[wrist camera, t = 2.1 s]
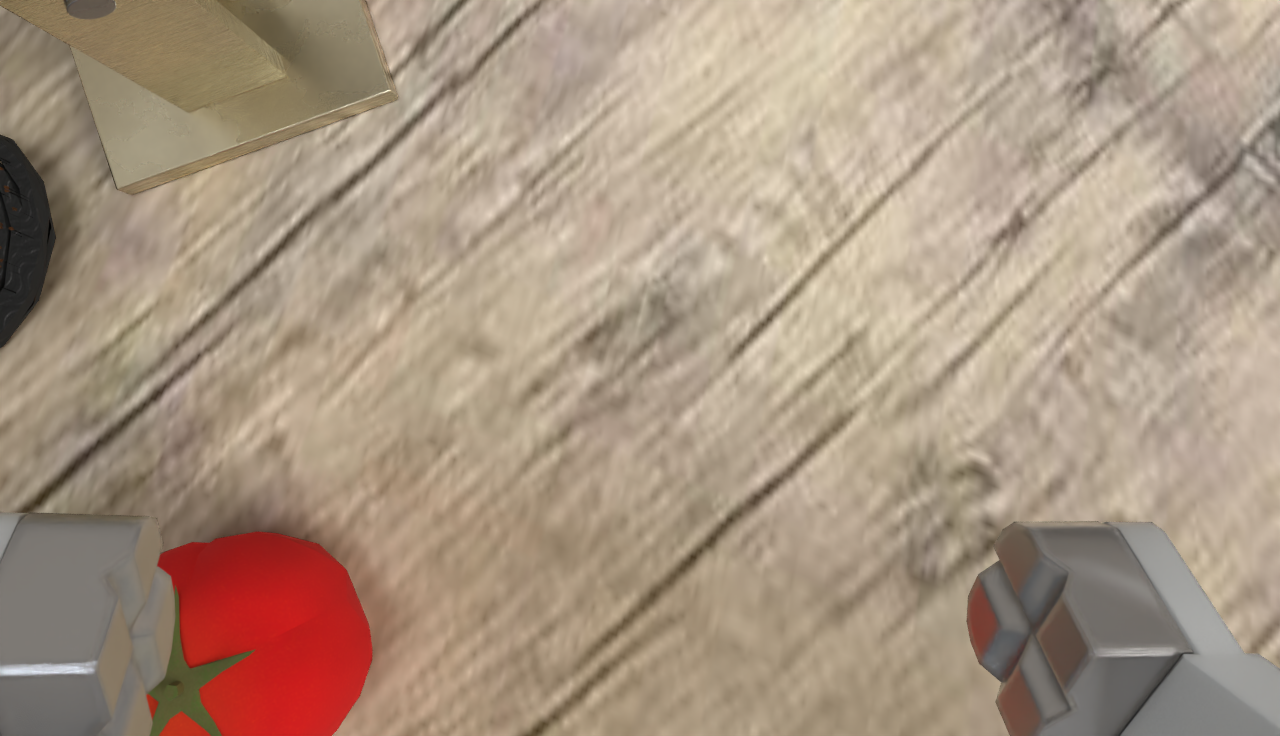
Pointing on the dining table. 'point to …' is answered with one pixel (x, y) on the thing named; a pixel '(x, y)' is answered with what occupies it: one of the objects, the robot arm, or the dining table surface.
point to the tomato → (260, 640)
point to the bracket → (212, 75)
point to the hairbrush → (21, 237)
